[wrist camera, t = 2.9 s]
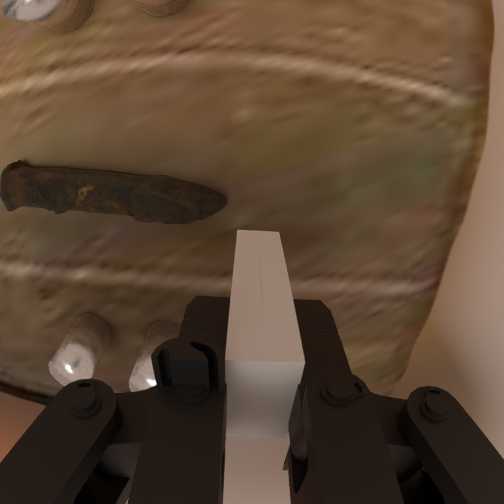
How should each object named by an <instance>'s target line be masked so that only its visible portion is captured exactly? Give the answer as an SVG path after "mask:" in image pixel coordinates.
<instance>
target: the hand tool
mask: <svg viewBox="0 0 504 504" xmlns="http://www.w3.org/2000/svg"><path fill="white" fill-rule="evenodd" d="M0 198H1V199H2V201H3V203H4V204H5V207H6V209H7V211H13V210H15V209H17V208H18V207H22V206H27V207H40V208H45V209H48V210H49V211H50V210H53V211H54V212H55V213H56V214H61V213H64V212H66V211H68V210H73V211H83V212H96V213H105V214H119V215H129V216H133V218H134V219H135V220H136V221H141V222H149V223H150V222H160V223H163V224H170V223H173V224H187V223H192V222H194V221H196V220H200V219H205V218H207V217H209V216H211V215H212V214H214V213H216V212H218V211H220V210H221V209H222V208H223V207H225V205H226V203H227V200H226V198H225V197H224V196H223V195H221V194H219V193H217V192H215V191H213V190H211V189H208V188H205V187H203V186H200V185H196V184H194V183H192V182H188V181H182V180H178V179H176V178H172V177H168V176H165V175H160V176H140V175H132V174H124V173H115V172H106V171H98V170H91V171H88V170H77V169H72V168H71V169H69V168H62V167H54V168H51V167H46V168H40V167H27V166H26V164H24V163H23V162H22V161H20V160H19V161H18V162H13V163H11V164H9V165H7V167H6V168H5V169H4V170H3V171H2V174H1V181H0Z"/></svg>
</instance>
